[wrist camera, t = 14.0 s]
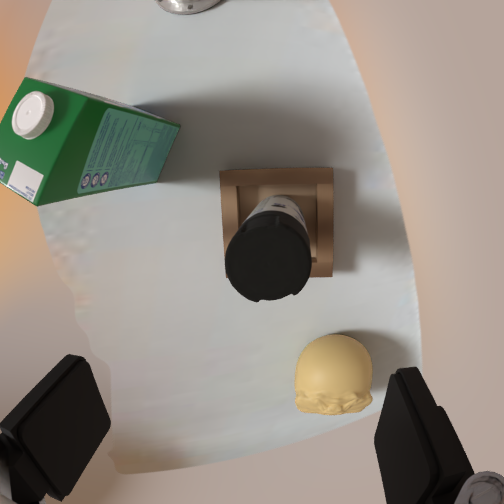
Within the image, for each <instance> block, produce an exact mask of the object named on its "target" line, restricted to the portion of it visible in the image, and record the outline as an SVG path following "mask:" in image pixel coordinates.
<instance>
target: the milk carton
mask: <svg viewBox="0 0 504 504" xmlns="http://www.w3.org/2000/svg"><path fill="white" fill-rule="evenodd" d="M179 128H180V125H179V124H177V123H174V122H172V121H169V120H167V119H164V118H162V117H159V116H156V115H154V114H151V113H149V112H146V111H143V110H141V109H138V108H136V107H133V106H130V105H127V104H124V103H121V102H117V101H114V100H111V99H108V98H104V97H101V96H97V95H94V94H91V93H87V92H83V91H80V90H76V89H73V88H69V87H65V86H61V85H57V84H53V83H49V82H45V81H41V80H37V79H32V78H28V77H25V78H24V80H23V81H22V83H21V85H20V87H19V89H18V90H17V92H16V94H15V96H14V98H13V99H12V101H11V103H10V105H9V107H8V109H7V111H6V113H5V115H4V117H3V119H2V121H1V123H0V183H1V184H3V185H5V186H6V187H7V188H9V189H11V190H12V191H14V192H15V193H17V194H18V195H20V196H21V197H23V198H24V199H26V200H27V201H29V202H31V203H32V204H34V205H35V206H41V205H46V204H50V203H54V202H59V201H63V200H68V199H72V198H77V197H82V196H87V195H92V194H97V193H102V192H107V191H112V190H118V189H123V188H129V187H135V186H141V185H147V184H153V183H156V182H157V179H158V177H159V175H160V172H161V170H162V167H163V165H164V163H165V160H166V158H167V155H168V153H169V151H170V149H171V146H172V144H173V142H174V139H175V137H176V135H177V133H178V131H179Z"/></svg>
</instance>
